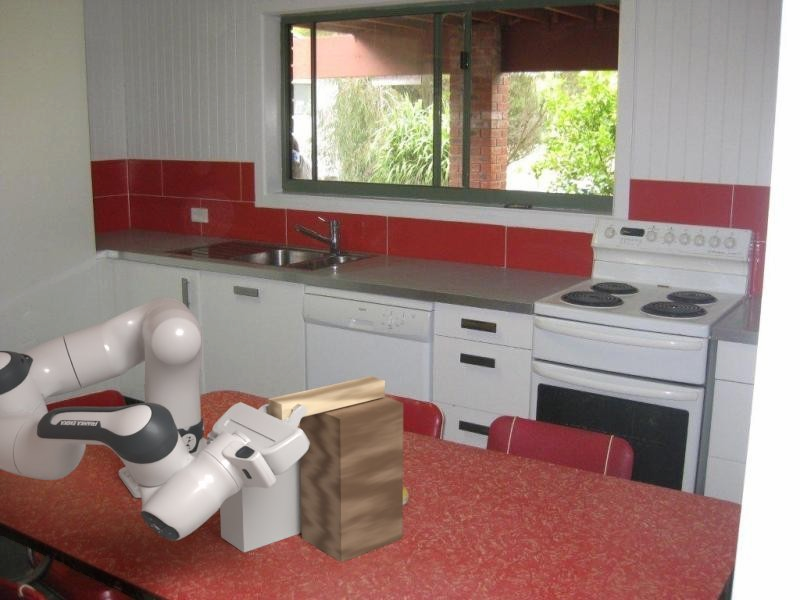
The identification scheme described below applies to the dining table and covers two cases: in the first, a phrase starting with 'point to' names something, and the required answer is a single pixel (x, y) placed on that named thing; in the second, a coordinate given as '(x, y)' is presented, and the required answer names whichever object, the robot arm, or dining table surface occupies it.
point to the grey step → (263, 512)
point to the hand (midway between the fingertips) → (294, 403)
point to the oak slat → (328, 397)
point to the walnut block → (353, 478)
